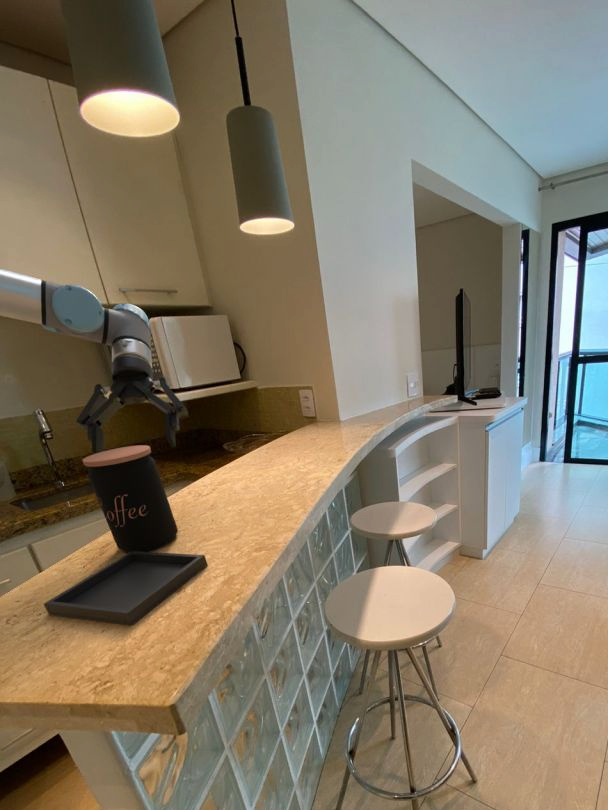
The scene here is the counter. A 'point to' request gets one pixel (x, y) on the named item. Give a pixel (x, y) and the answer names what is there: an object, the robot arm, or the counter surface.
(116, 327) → the robot arm
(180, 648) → the counter surface
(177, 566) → the black tray
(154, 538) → the coffee jar
